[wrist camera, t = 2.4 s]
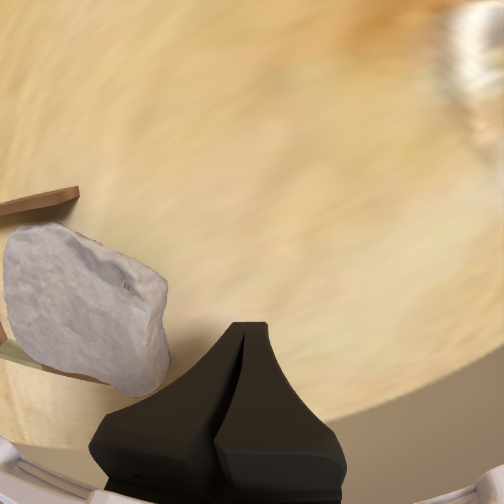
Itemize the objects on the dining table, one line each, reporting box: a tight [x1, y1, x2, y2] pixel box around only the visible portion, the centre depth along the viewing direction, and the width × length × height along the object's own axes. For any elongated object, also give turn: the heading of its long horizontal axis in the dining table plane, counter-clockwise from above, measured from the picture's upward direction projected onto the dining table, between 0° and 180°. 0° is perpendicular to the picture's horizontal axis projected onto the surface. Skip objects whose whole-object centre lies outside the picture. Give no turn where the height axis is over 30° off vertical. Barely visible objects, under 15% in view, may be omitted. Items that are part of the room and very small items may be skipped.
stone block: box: [3, 221, 170, 398], centre depth 17 cm, size 12×5×10 cm
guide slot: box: [0, 186, 110, 385], centre depth 18 cm, size 13×15×2 cm
